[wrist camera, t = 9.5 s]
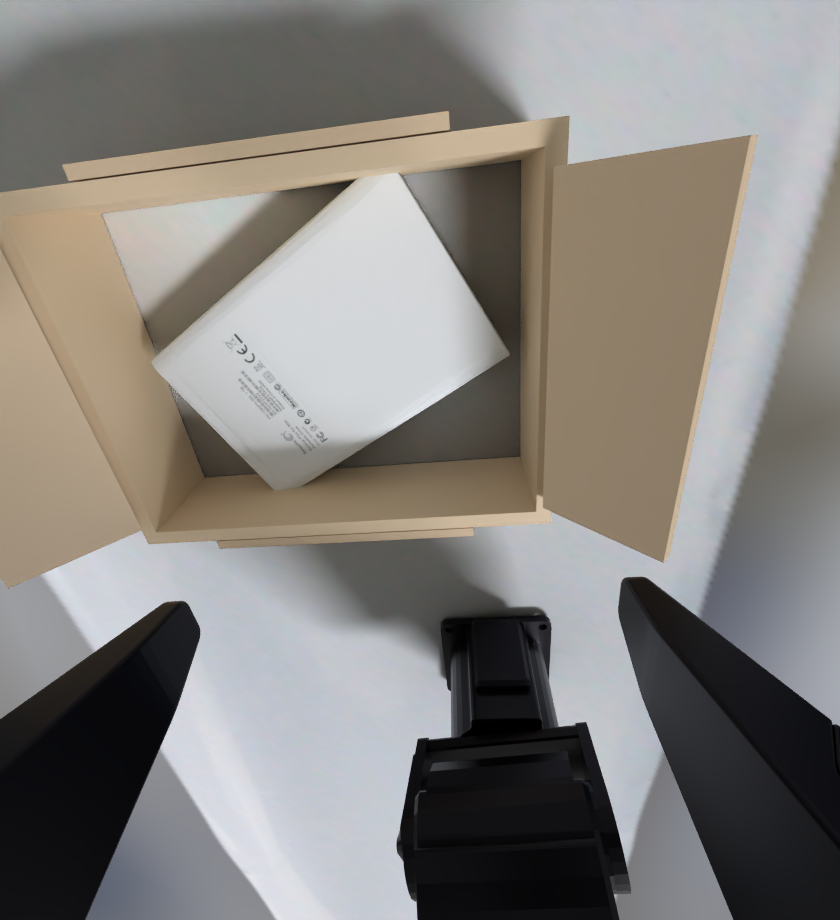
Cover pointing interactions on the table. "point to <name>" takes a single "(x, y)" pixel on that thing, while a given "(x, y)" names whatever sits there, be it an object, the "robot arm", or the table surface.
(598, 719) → the table surface
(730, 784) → the robot arm
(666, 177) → the flap
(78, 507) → the flap
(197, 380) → the external hard drive
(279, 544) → the carton
